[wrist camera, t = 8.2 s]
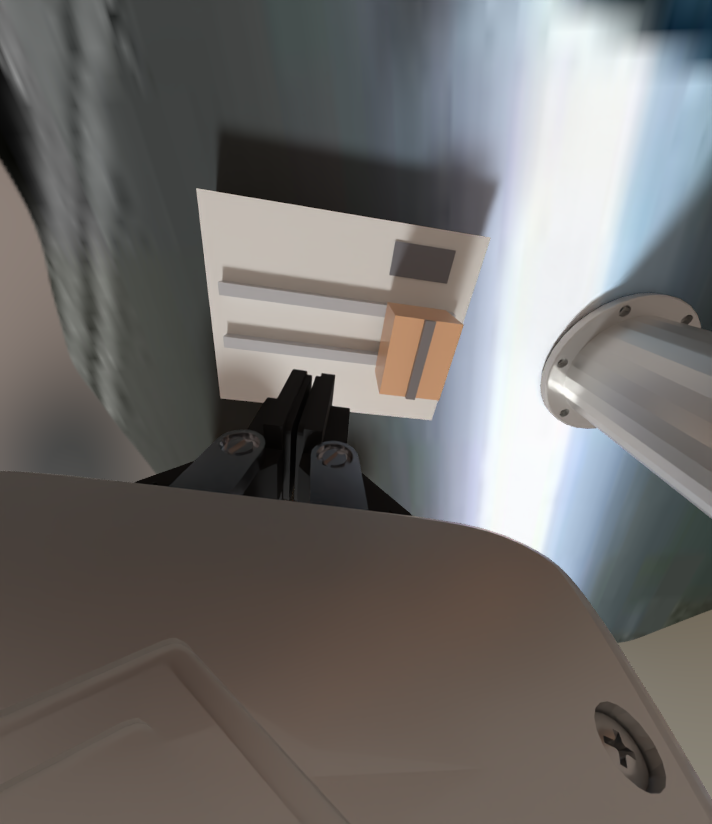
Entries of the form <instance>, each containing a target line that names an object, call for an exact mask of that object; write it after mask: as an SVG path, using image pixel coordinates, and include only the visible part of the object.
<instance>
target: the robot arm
mask: <svg viewBox="0 0 712 824" xmlns="http://www.w3.org/2000/svg"><path fill="white" fill-rule="evenodd" d="M334 384H335V375H333V374H326V373H322V374H321V376H316V377H315V380H314V383H313V386H312V375H308V374H307V371H304V370H297V369H293V370H292V372H291V374H290V375H289V377H288V379H287V381H286V383H285V385H284V387H283V388H282V390H281V392H280V394H279V396H278V398H270V397H267V399H266V400H265V402H264V403H263V405H262V407H261V408H260V410H259V411H258V413H257V415H256V416H255V418H254V420H253V421H252V423H251V425H250V426H249V428H248V430H245V429H243V430H234V431H229V432H227V433H225V434H223V435H221V436H220V437H219V438H217V439H216V440H215V441H214V442H213V443H212V444H211V445H210V446H209V447H208V448H207V449H206V450H205V451H204V452H203V453H202V454H201V455H200V456H199V457H198V458H197V459H196V460H195V461H193V462H190V463H188V464H185V465H182V466H179V467H176V468H173V469H171V470H168V471H165V472H162V473H159V474H156V475H154V476H151V477H148V478H145V479H142V480H139V481H137V482H135V483H131V482H122V481H113V480H103V479H95V478H85V477H78V476H67V475H55V474H44V473H33V472H21V471H0V824H712V799H711V797H710V795H709V794H708V792H707V790H706V789H705V787H704V785H703V783H702V782H701V780H700V778H699V777H698V775H697V774H696V772H695V770H694V768H693V767H692V765H691V763H690V761H689V760H688V758H687V756H686V755H685V753H684V751H683V750H682V748H681V746H680V745H679V743H678V741H677V739H676V738H675V736H674V734H673V733H672V731H671V729H670V728H669V726H668V724H667V722H666V721H665V719H664V717H663V716H662V714H661V712H660V711H659V709H658V708H657V706H656V704H655V703H654V701H653V699H652V698H651V696H650V695H649V693H648V691H647V690H646V688H645V687H644V685H643V683H642V682H641V680H640V679H639V677H638V675H637V674H636V672H635V670H634V669H633V668H632V666H631V664H630V662H629V661H628V659H627V658H626V656H625V654H624V653H623V651H622V650H621V648H620V646H619V645H618V643H617V642H616V640H615V639H614V637H613V636H612V634H611V633H610V631H609V630H608V628H607V627H606V625H605V624H604V622H603V621H602V619H601V618H600V616H599V615H598V614H597V612H596V611H595V609H594V608H593V607H592V605H591V604H590V602H589V601H588V600H587V598H586V597H585V595H584V594H583V593H582V592H581V590H580V589H579V588H578V587H577V585H576V584H575V583H574V582H573V581H572V579H571V578H570V577H569V576H568V575H567V574H566V573H565V572H564V571H563V570H562V569H561V568H560V567H559V566H558V565H557V564H555V563H554V562H553V561H552V560H550V559H549V558H548V557H546V556H545V555H543V554H541V553H540V552H538V551H536V550H534V549H533V548H531V547H529V546H527V545H525V544H523V543H520V542H518V541H516V540H514V539H511V538H509V537H507V536H504V535H502V534H499V533H495V532H492V531H489V530H486V529H483V528H479V527H475V526H470V525H466V524H462V523H456V522H449V521H443V520H436V519H430V518H423V517H417V516H412V515H411V514H410V513H409V512H408V511H407V510H406V509H404V508H403V507H402V506H401V505H400V504H398V503H397V502H396V501H395V500H394V499H392V498H391V497H390V496H389V495H388V494H386V493H385V492H384V491H383V490H382V489H380V488H379V487H378V486H377V485H376V484H374V483H373V482H372V481H371V480H370V479H368V478H367V477H366V476H365V475H364V474H362V473H361V468H360V463H359V458H358V454H357V452H356V451H355V450H354V448H353V447H351V446H350V445H348V444H347V435H348V424H349V413H350V408H345V407H337V406H332V402H333V393H334ZM540 387H541V397H542V399H543V402H544V405H545V406H546V408H547V409H548V410H549V412H550V413H551V414H552V415H553V416H555V417H556V418H557V419H558V420H560V421H561V422H563V423H565V424H566V425H569V426H573V427H576V428H585V429H591V428H598V429H599V430H600V431H601V432H603V433H604V434H605V435H606V436H608V437H609V438H610V439H612V440H613V441H614V442H615V443H617V444H618V445H619V446H620V447H622V448H623V449H624V450H625V451H627V452H628V453H629V454H631V455H632V456H633V457H634V458H636V459H637V460H638V461H639V462H641V463H642V464H643V465H644V466H646V467H647V468H648V469H650V470H651V471H652V472H653V473H655V474H656V475H657V476H658V477H660V478H661V479H662V480H663V481H665V482H666V483H667V484H668V485H670V486H671V487H672V488H674V489H675V490H676V491H677V492H679V493H680V494H681V495H682V496H684V497H685V498H686V499H687V500H689V501H690V502H691V503H693V504H694V505H695V506H696V507H698V508H699V509H700V510H701V511H703V512H704V513H705V514H706V515H708V516H709V517H710V518H711V519H712V331H708V330H705V329H701V324H700V321H699V318H698V314H697V313H696V312H695V310H694V309H693V308H692V307H691V305H689V304H688V303H686V302H685V301H683V300H682V299H679V298H676V297H672V296H669V295H663V294H657V293H639V294H633V295H629V296H625V297H621V298H619V299H616V300H614V301H611V302H609V303H606V304H604V305H602V306H601V307H599V308H597V309H596V310H594V311H592V312H590V313H589V314H588V315H586V316H585V317H584V318H582V319H581V320H580V321H578V322H577V323H576V324H575V325H574V326H573V327H572V328H571V329H570V330H569V331H568V332H567V333H566V334H565V335H564V336H563V337H562V338H561V340H560V341H559V342H558V343H557V345H556V346H555V347H554V349H553V350H552V352H551V354H550V356H549V358H548V360H547V361H546V364H545V367H544V370H543V373H542V378H541V384H540ZM294 484H295V491H294V500H296V501H297V502H293V501H285V500H284V499H287V500H290V498H291V494H292V491H293V487H294Z"/></svg>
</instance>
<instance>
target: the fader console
mask: <svg viewBox="0 0 712 824" xmlns="http://www.w3.org/2000/svg"><path fill="white" fill-rule="evenodd" d="M196 190H197V199H198V207H199V216H200V225H201V233H202V242H203V251H204V259H205V268H206V277H207V285H208V294H209V303H210V311H211V320H212V329H213V337H214V346H215V355H216V364H217V372H218V381H219V390H220V398H221V399H231V400H241V401H250V402H260V403H264V402H265V400H266V399H267V397H270V398H278V396H279V394H280V392H281V390H282V388H283V387H284V385H285V383H286V381H287V379H288V377H289V375H290V374H291V372H292V370H293V369H297V370H304V371H307V374H308V375H312V386H313V383H314V380H315V377H316V376H321V374H322V373H326V374H333V375H335V384H334V393H333V402H332V406H337V407H345V408H350V412H357V413H366V414H376V415H386V416H395V417H405V418H415V419H424V420H432V417H433V414H434V411H435V408H436V405H437V402H438V400H430V399H421V398H415V400H410V399H406V398H405V397H403V396H394V395H385V394H379V390H378V385H377V380H376V375H375V367H376V362H377V356H378V351H379V346H380V340H381V335H382V329H383V324H384V319H385V313H386V308H387V302H391V303H398V304H405V305H412V306H420V307H427V308H434V309H441V310H446V311H447V312H449V313H450V314H451V315H452V316H453V317H455V318H456V319H457V320H458V321H460V322H461V323H462V324H463V321H464V318H465V315H466V312H467V309H468V306H469V303H470V300H471V297H472V294H473V291H474V287H475V284H476V281H477V278H478V275H479V272H480V269H481V266H482V263H483V260H484V257H485V254H486V250H487V247H488V244H489V241H490V238H489V237H483V236H478V235H472V234H466V233H460V232H454V231H448V230H442V229H436V228H430V227H424V226H418V225H412V224H406V223H400V222H394V221H388V220H382V219H376V218H370V217H364V216H358V215H352V214H346V213H340V212H334V211H328V210H322V209H317V208H311V207H305V206H299V205H293V204H287V203H281V202H275V201H269V200H263V199H257V198H251V197H245V196H239V195H233V194H227V193H221V192H215V191H209V190H203V189H197V188H196Z"/></svg>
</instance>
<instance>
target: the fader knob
mask: <svg viewBox="0 0 712 824" xmlns="http://www.w3.org/2000/svg"><path fill="white" fill-rule="evenodd" d="M462 328H463V324H462V323H461V322H460V321H458V320H457V319H456V318H455V317H453V316H452V315H451V314H450V313H449V312H447V311H446V310H441V309H434V308H427V307H420V306H412V305H405V304H398V303H391V302H387V308H386V313H385V319H384V324H383V329H382V335H381V340H380V346H379V351H378V356H377V362H376V367H375V375H376V380H377V385H378V390H379V394H385V395H394V396H403V397H405V398H406V399H410V400H415V398H421V399H430V400H439V399H440V396H441V393H442V390H443V387H444V384H445V380H446V377H447V374H448V371H449V368H450V365H451V362H452V359H453V356H454V353H455V350H456V347H457V344H458V341H459V338H460V335H461V331H462Z"/></svg>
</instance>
